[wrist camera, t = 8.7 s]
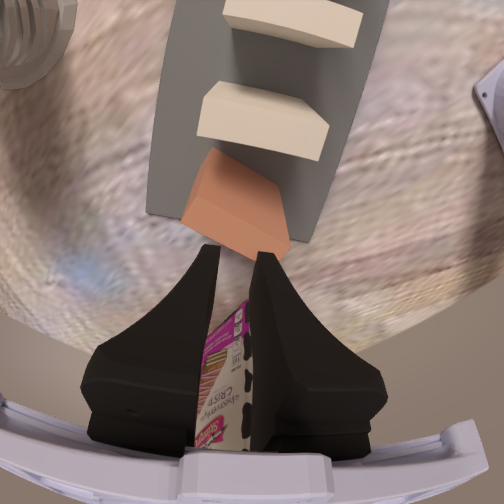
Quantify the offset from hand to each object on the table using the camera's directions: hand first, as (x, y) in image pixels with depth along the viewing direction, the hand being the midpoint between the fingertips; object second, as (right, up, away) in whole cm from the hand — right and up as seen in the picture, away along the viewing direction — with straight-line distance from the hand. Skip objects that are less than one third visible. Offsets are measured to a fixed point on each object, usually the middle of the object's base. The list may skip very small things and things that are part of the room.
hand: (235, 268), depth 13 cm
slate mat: (+2, +14, +2) cm, 14 cm away
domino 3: (0, +6, +8) cm, 10 cm away
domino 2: (+1, +10, +5) cm, 11 cm away
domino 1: (+2, +13, +2) cm, 14 cm away
